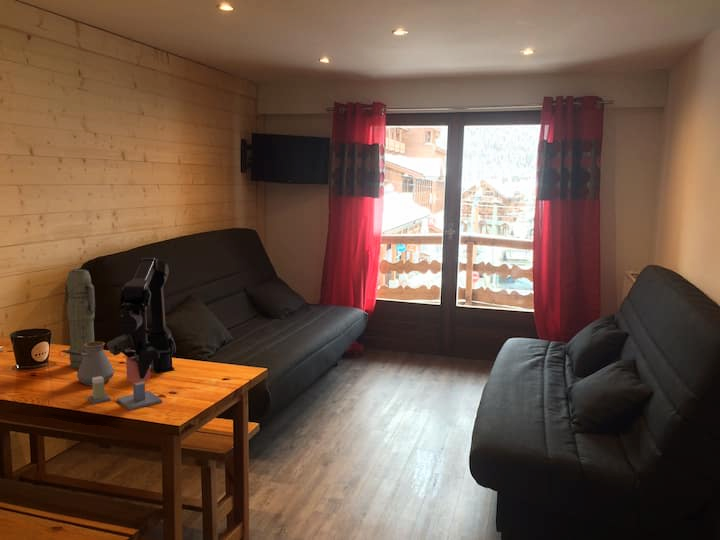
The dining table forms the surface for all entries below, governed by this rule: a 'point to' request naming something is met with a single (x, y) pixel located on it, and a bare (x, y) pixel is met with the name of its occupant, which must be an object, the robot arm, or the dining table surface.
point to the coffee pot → (93, 363)
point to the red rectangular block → (135, 371)
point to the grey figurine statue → (80, 312)
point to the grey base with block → (98, 391)
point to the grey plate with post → (139, 397)
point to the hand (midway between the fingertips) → (138, 376)
